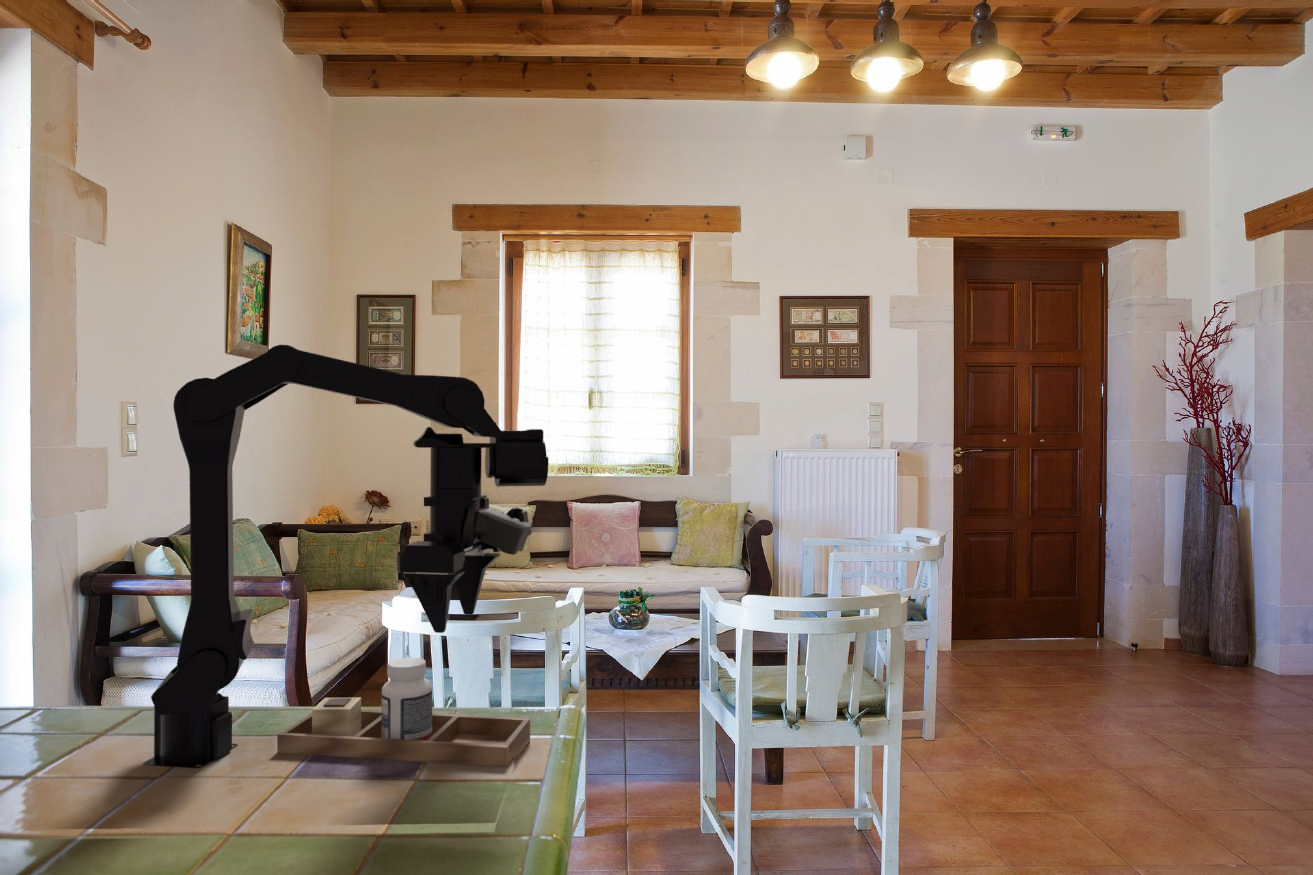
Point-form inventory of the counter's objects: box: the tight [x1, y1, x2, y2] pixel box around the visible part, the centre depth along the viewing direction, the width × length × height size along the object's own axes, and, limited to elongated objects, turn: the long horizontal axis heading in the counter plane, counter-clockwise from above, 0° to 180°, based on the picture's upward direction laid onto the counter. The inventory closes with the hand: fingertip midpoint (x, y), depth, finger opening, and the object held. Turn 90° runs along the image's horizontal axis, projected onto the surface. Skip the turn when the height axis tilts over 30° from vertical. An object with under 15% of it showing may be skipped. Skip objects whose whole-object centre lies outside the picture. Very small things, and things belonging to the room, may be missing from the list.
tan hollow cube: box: [311, 696, 362, 737], centre depth 92 cm, size 4×4×4 cm
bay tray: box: [276, 709, 531, 768], centre depth 91 cm, size 25×9×2 cm, turn 83°
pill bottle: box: [381, 657, 433, 741], centre depth 91 cm, size 5×5×9 cm
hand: (455, 622), depth 96 cm, fingers open, 9 cm apart
